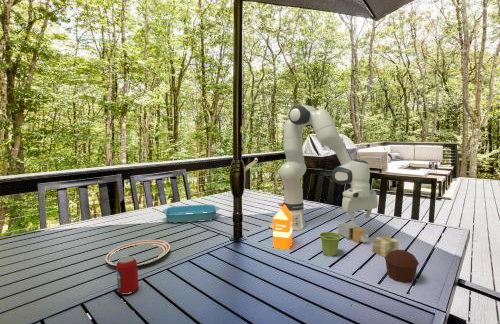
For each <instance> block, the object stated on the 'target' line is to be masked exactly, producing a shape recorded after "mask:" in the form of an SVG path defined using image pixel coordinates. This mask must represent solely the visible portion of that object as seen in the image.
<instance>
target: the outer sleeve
mask: <svg viewBox="0 0 500 324" xmlns="http://www.w3.org/2000/svg"><path fill="white" fill-rule="evenodd" d="M338 225H339V230H338V229H337V231H338V233H337V234H339V235H340V236H341V238H344V239H347V240H348V241H350V240H351V241H352V240H353V237H351V230H352V229H353V228H359V227H360V228H361V226H359V225H358V224H354V223H351V222H343V223H338Z"/></svg>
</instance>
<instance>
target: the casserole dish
mask: <svg viewBox="0 0 500 324" xmlns="http://www.w3.org/2000/svg"><path fill="white" fill-rule="evenodd" d="M218 210H220V207H219V206H217V205H215V204H195V205H193V204H191V205H176V206H169V207H167V208H166V209H162V213H163V214H165V216H166V219H167V221H168V222H169V223H171V222H184V221H199V220H210V219H213V218H214V219H215V217H216V213H217V211H218ZM203 212H207V213H203ZM186 213H193V214H186ZM214 219H213V220H214Z"/></svg>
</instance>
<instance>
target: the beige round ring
mask: <svg viewBox="0 0 500 324" xmlns="http://www.w3.org/2000/svg"><path fill="white" fill-rule="evenodd" d="M141 244H143V245H144V244H153V245H157V246H158V247H160V248H161V249H162V253H161V254H160V255H159V256H158V257H157V258H156V259H154V260H151V261H148V262H145V263H141V264H137V267H138V266H143V264H144V265H146V264H150V263H153V262H155V261H158V260H159V259H161V258H163V257H164V256H165V255H166V254H168V253H169V251H170V249H171V245H170V244H169V243H168V242H167V241H164V240H162V239H161V240H160V239H144V240H137V241H133V242H129V243H125V244H123V245H119V246H118V247H116V248H114V249H112V250H111V251H110V252H108V254H107V255H106V256H105V262H106V263H107V264H108V265H111V266H115V267H116V264H113V263H112V262H110V260H109V257H110V256H111V255H112V254H113V253H115V252H116V251H119V250H120V249H123V248H127V247H130V246H135V245H141Z"/></svg>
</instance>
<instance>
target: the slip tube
mask: <svg viewBox="0 0 500 324" xmlns="http://www.w3.org/2000/svg"><path fill="white" fill-rule="evenodd" d="M338 230H339V224H338V225H337V231H338ZM351 237H353V239H352V241H355V242H356V243H369V235H368V234H366V229H365V228H362V227H361V226H360V227H359V228H353V229H352V230H351Z"/></svg>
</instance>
